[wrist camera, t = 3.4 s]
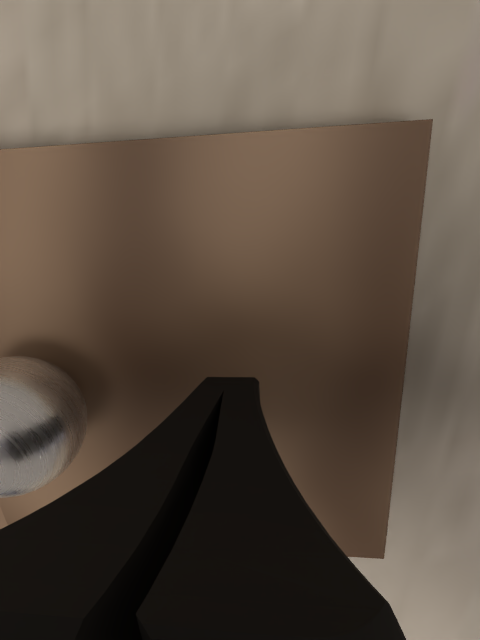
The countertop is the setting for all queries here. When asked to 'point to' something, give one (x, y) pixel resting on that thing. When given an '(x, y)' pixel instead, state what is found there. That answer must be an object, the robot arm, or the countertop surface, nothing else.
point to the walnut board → (225, 294)
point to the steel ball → (37, 423)
